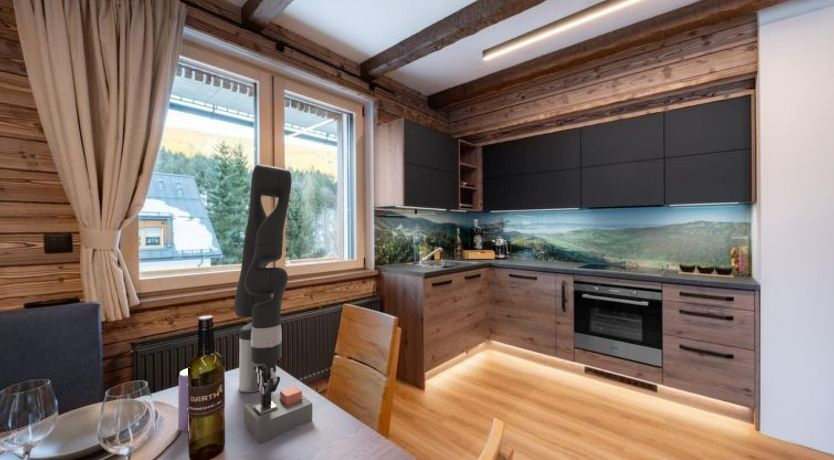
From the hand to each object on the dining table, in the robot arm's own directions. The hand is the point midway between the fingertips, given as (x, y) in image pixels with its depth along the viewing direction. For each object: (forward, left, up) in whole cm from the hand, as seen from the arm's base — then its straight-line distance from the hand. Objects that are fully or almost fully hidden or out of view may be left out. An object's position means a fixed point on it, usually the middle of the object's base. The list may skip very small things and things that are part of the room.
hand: (266, 405), depth 88 cm
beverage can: (-15, -14, -6) cm, 21 cm away
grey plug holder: (0, +3, -6) cm, 7 cm away
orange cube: (0, +7, -3) cm, 7 cm away
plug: (0, 0, -5) cm, 5 cm away
